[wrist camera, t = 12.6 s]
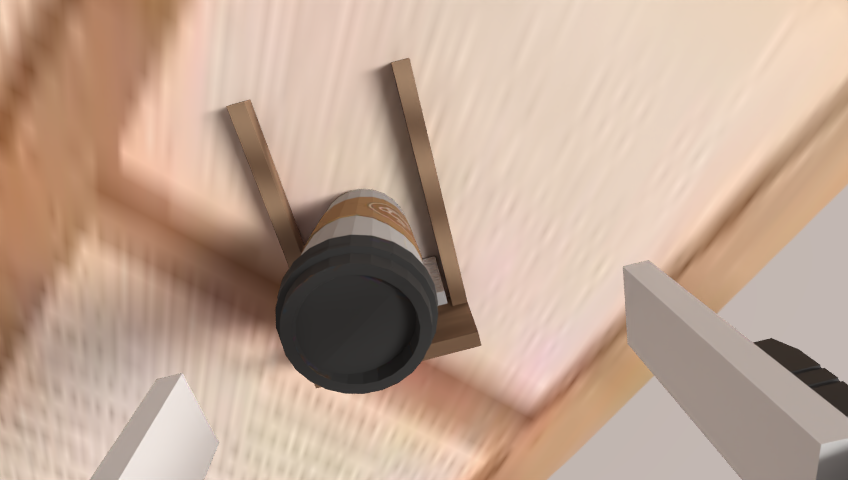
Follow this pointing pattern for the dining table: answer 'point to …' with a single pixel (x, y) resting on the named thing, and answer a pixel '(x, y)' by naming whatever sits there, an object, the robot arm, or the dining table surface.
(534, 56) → the dining table surface
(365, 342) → the coffee cup
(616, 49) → the dining table surface
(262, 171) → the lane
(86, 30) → the dining table surface
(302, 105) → the dining table surface
